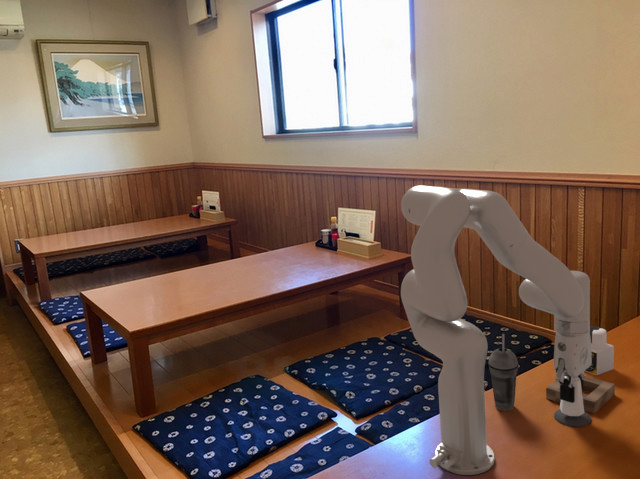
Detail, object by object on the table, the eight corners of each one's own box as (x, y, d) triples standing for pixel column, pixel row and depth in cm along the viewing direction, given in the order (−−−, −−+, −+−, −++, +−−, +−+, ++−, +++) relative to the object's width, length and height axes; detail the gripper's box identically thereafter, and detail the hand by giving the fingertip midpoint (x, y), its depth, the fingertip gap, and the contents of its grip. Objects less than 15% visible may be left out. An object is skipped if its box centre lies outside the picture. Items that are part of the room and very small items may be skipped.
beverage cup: (515, 398, 142) (513, 326, 139) (523, 413, 135) (521, 337, 131) (487, 400, 143) (484, 328, 139) (492, 414, 136) (490, 338, 132)
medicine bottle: (574, 367, 157) (574, 327, 154) (592, 360, 159) (592, 322, 157) (596, 376, 150) (596, 335, 148) (614, 369, 153) (614, 329, 151)
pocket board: (594, 413, 132) (594, 402, 132) (546, 398, 141) (546, 387, 141) (614, 394, 140) (614, 383, 139) (567, 381, 149) (567, 371, 148)
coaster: (581, 430, 126) (582, 429, 126) (548, 419, 132) (548, 417, 132) (596, 416, 131) (596, 415, 131) (563, 406, 137) (563, 404, 137)
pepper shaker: (569, 418, 128) (568, 374, 126) (554, 407, 133) (554, 365, 131) (589, 414, 129) (589, 370, 127) (574, 403, 134) (574, 361, 132)
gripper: (571, 339, 119) (571, 416, 122) (603, 317, 129) (602, 388, 133) (538, 331, 124) (539, 405, 128) (571, 311, 135) (571, 380, 138)
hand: (571, 396), depth 130 cm, fingers closed on pepper shaker, 3 cm apart
